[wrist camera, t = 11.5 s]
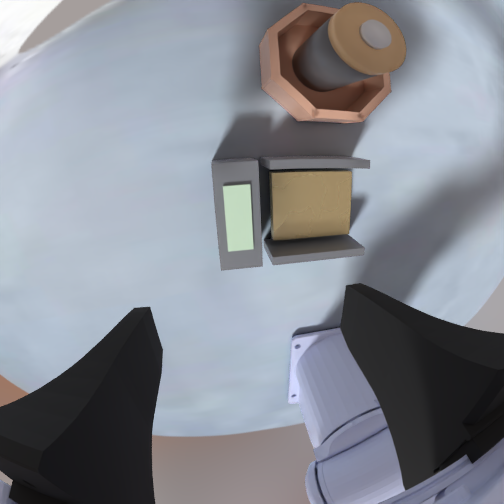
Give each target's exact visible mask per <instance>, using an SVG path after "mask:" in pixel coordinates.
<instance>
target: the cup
mask: <svg viewBox="0 0 504 504" xmlns="http://www.w3.org/2000/svg"><path fill="white" fill-rule="evenodd" d="M338 10H340V9H336V8H331V7H325V6H319V5H313V4H306V3H302V4H301V5H300V6H299V7H297V8H296V9H294V10H293V11H292V12H290V13H289V14H287V15H286V16H285V17H283V18H282V19H281V20H279V21H278V22H277V23H275V24H274V25H273V26H272V27H270V28H269V29H267V31H266V33H265V35H264V37H263V39H262V41H261V43H260V45H259V51H260V67H261V84H262V87H261V88H262V90H264V91H265V92H266V93H267V94H269V95H270V96H271V97H272V98H273V99H274V100H275V101H276V102H277V103H279V104H280V105H281V106H282V107H283V108H284V109H285V110H286V111H287V112H288V113H289V114H290V115H292V116H293V117H294V118H295V119H296V121H298V122H299V121H314V122H334V123H340V124H341V123H354V122H363V121H364V120H365V119H366V117H367V116H368V115H369V114H370V113H371V112H372V111H373V110H374V109H375V108H376V107H377V106H378V105H379V104H380V103H381V102H382V101H383V99H384V98H385V97H386V96H387V95H388V94H389V93H391V85H390V74H389V72H388V73H384V74H381V75H377V76H374V77H371V78H368V79H364V80H361V81H358V82H355V83H352V84H349V85H346V86H343V87H340V88H337V89H334V90H332V91H328V92H319V91H314V90H312V89H310V88H308V87H306V86H305V85H303V84H302V83H301V82H300V81H299V80H298V78H297V77H296V75H295V73H294V71H293V67H292V58H293V55H294V53H295V51H296V50H297V49H298V48H299V47H300V46H301V45H302V44H303V43H304V42H305V41H306V40H307V39H308V38H309V37H310V36H311V35H312V34H313V33H314V32H315V31H316V30H317V29H319V28H320V27H321V26H322V25H323V24H324V23H325V22H326V21H327V20H328V19H329V18H331V17H332V16H333V15H334V14H335V13H336V12H337V11H338Z"/></svg>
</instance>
